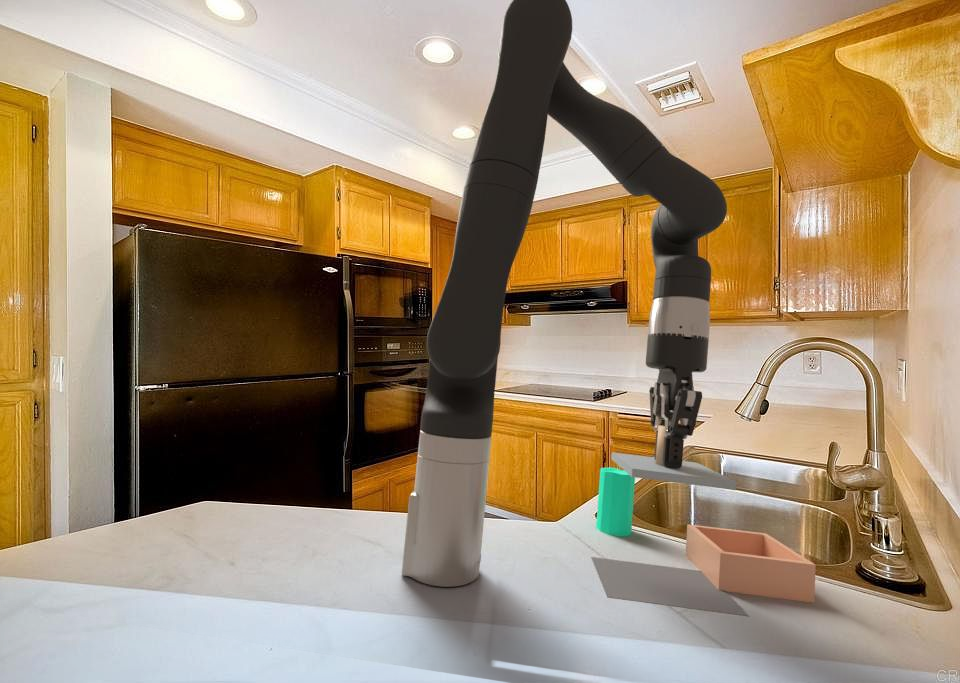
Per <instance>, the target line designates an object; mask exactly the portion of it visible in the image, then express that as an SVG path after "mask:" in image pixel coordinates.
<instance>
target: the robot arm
mask: <svg viewBox="0 0 960 683" xmlns="http://www.w3.org/2000/svg"><path fill="white" fill-rule="evenodd" d="M571 12H572V11H571V9H570V7H569V4H568V2H567V0H512V1H511V2H510V3H509V4H508V7H507V9H506V11H505V13H504V16H503V20H502V25H501V31H500V37H499V44H498V52H497V53H498V55H497V58H498V67H497V74H496V79H495V82H494V87H493V91H492V93H491V96H490V100H489V103H488V105H487V108H486V111H485V113H484V116H483V120H482V121H481V125H480V128H479V131H478V135H477V138H476V142H475V145H474V149H473V152H472V154H471V155H472V156H471V158H470V162H469V165H468V170H467V173H466V177H465V182H464V186H463V190H462V195H461V202H460V206H459V212H458V217H457V224H456V230H455V237H454V245H453V255H452V258H451V259H452V260H451V264H450V267H449V272H448V274H447V278H446V281H445V284H444V287H443V290H442V293H441V296H440V299H439V302H438V304H437V307H436V309H435V312H434V315H433V317H432V320H431V323H430V326H429V328H428V331H427V336H426V351H427V355H428V358H429V362H428V363H429V366H428V374H427V385H426V392H425V396H424V397H425V398H424V401H423V402H424V403H423V406H422V410H421V417H420V426H419V428H420V430H419V438H418V448H417V458H416V459H417V460H416V466H415V468H416V470H415V479H414V488H413V489H414V490H413V491H412V492H411V493H410V495H409V497H408V507H407V508H408V509H407V514H406V515H407V517H406V518H407V519H406V527H405V534H404V535H405V538H404V547H403V554H402V555H403V556H402V557H403V558H402V566H401V576H405V577H410V578H411V579H414V580H415V581H418V582H420V583H422V584H426V585H429V586H435V587H446V588H449V587H459V586H464V585H467V584H470V583H472V582H474V581H475V580H476V579H478V578H479V575H480V566H481V561H482V547H483V546H482V545H483V544H482V543H483V537H484V536H483V534H484V525H485V524H484V523H485V513H486V512H485V510H486V500H487V491H488V481H489V480H488V477H489V466H490V458H491V447H492V446H491V444H492V434H493V424H494V409H495V408H494V407H495V406H494V405H495V391H496V382H497V381H496V380H497V373H498V372H497V368H498V359H499V354H500V350H501V339H502V338H501V336H502V324H503V323H502V322H503V316H504V307H505V300H506V295H507V294H506V292H507V288H508V282H509V278H510V273H511V271H512V268H513V263H514V261H515V260H516V256H517V254H518V251H519V250H520V246H521V244H522V241H523V238H524V235H525V231H526V228H527V226H528V222H529V219H530V216H531V211H532V209H533V208H532V207H533V203H534V199H535V195H536V190H537V185H538V181H539V176H540V169H541V165H542V164H541V163H542V158H543V152H544V145H545V139H546V134H547V133H546V131H547V125H548V116H549V117H551V119H552V120H554V121H555V122H557V123H558V124H559V125H560V126H561V127H562V128H564V129H565V130H566V131H568V133H569V134H571V135H572V136H573V137H574V138H576V139H577V140H578V141H579V143H581V144H582V145H583V146H584V147H585V148H587V149H588V151H589V152H590V153H592V155H594V157H595V158H596V159H597V160H598V161H599V162H600V163H601V165H603V167H604V168H605V169H606V170H607V171H608V172H609V173H610V174H611V176H612V177H614V178H615V180H616V181H617V182H618V183H619V184H620V185H621V186H622V187H623V188H624V190H626V192H628V193H629V194H630V195H631V196H634V197H643V196H646V195H647V196H650V197H651V198H653V199H654V200H655V201H657V202H658V203H659V204H660V205H658V207H657V208H656V210H655V211H654V215H653V217H652V221H651V227H650V239H651V240H650V242H651V248H652V256H653V263H654V267H655V274H654V283H653V295H652V305H651V309H650V312H649V313H650V314H649V319H648V331H647V332H648V333H647V342H646V354H645V366H646V367H647V368H648V369H649V368H650V369H656V370H658V377H657V379H656V382H655V383H654V386H650V388H649V389H648V390H649V391H648V393H649V410H650V426H651V427H653V430H654V433H655V443H654V456H653V457H654V459H655V460H656V450H657V438H658V426H659V425H661V426H665V431H664V433H665V436H666V437H664V449H663V461H662V463H663V465H664V466H666V467H670V468H681V466H682V461H683V456H684V445H685V444H684V443H685V441H684V440H686V439H687V438H688V436H690V437H691V436H693V434H694V431H695V426H696V422H697V419H698V415H699V411H700V408H701V403H702V400H703V392H702V391H700V390H695V388H694V382H693V381H694V380H693V379H694V378H693V373H704V372H705V371H706V370H707V367H708V353H709V341H710V326H711V314H710V313H711V311H710V299H711V298H710V297H711V287H712V267H711V264H710V262H709V260H707V259H706V258H705V257H702V256H699V255H700V254H699V247H698V244H699V239H700V238H703V237H705V236H707V235H709V234H710V233H712V232H714V231H715V230H717V229H718V228H719V227H720V226H721V225H722V224H723V222H724V221H725V220H726V217H727V213H728V212H727V211H728V205H727V201H726V197H725V195H724V193H723V190H721V188H720V187H719V186H718V184H717V183H716V182H715V181H713V180H712V179H711V178H710V177H709V176H707V175H706V174H705V173H703V172H701V171H700V170H698V169H697V168H695V167H694V166H692V165H691V164H689V163H687V162H686V161H685V160H682V159H681V158H679V157H678V156H675V155H673V154H672V153H671V152H670V151H669V150H668V149H667V148H666V146H664V145H663V143H662V142H661V141H660V140H659V139H658V138H657V137H656V136H655V134H654V133H653V132H652V131H651V130H650V129H649V128H648V126H646V124H644V123H643V122H642V121H641V120H640V119H639V118H638V117H637V116H636V115H634V114H632V113H631V112H629V111H628V110H626V109H624V108H622V107H620V106H618V105H615V104H613V103H610V102H608V101H606V100H604V99H602V98H600V97H597V96H596V95H594V94H592V93H591V92H589V91H588V90H587V89H585V87H583V86H582V85H581V84H580V83H579V82H578V81H577V80H576V79H575V77H574V76H573V75H572V73H571V71H570V70H569V69H568V68H567V65H566V64H565V63H564V60H565V58H566V55H567V52H568V50H569V46H570V43H571V41H572V35H573V18H572V13H571ZM679 422H680V424H679Z"/></svg>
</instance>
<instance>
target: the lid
mask: <svg viewBox="0 0 960 683" xmlns="http://www.w3.org/2000/svg"><path fill="white" fill-rule="evenodd" d="M664 431H665V426H661V425H659V426H658V433H657V434H658V438H657V450H656V460H655V459H654V456H645V455H639V454H638V455H636V454H630V453H629V454H628V453H620V452H614V451H612V452H611V455H610V456H611V459H610V460H612V461H613V462H614V463H615V465H617V466H618V465H619V466H618V467H620V468H621V469H622V471H625V472H627V473H628V474H629V475H630V476H631V477H635V479H636V478H637V479H645V480H654V481H659V482H668V483H676V484H683V485H692V486H699V487H708V488H715V489H716V488H717V489H722V490H723V489H724V490H730V491H737V483H738V482H737V481H736V480H734V479H732V478H730V477H728V476H725V475H724V474H722V473H719V472H717V471H716V470H713V469H711V468H709V467H706V466H705V465H702V464H700V463H698V462H694V461H687V460H682V466H681V468H670V467H666V466H664V465H663V463H662V461H663V449H664V437H666V436H665V433H664Z"/></svg>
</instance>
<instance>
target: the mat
mask: <svg viewBox="0 0 960 683" xmlns="http://www.w3.org/2000/svg"><path fill="white" fill-rule="evenodd" d="M591 559H592V562H593V565H594V568H595V570H596V573H597V575H598V577H599V580H600V583H601V584H602V587H603V590H604V593H605V594H606V597H607V598H610V599H616V600H625V601H632V602H639V603H640V602H641V603H646V604H652V605H653V604H654V605H660V606H661V605H662V606H668V607H676V608H684V609H693V610H697V611H699V610H700V611H707V612H715V613H721V614H728V615H737V616H744V617H750V615H749V614H748V613H747V612H746V610H744V609H743V608H742V607H741V606H740V605H739V604H738V602H736V600H734V598H733V597H732V596H730V594H729V592H728V591H723V590H718V589H717V588H716V587H715V586H714V585H713V584H712V582H711V581H710V580H709V579H708V578H707V577H706V576H705V575H704V574H703V573H702V572H701V571H700V570H699V569H697V570H696V569H688V568H680V567H673V566H665V565H658V564H650V563H642V562H633V561H625V560H617V559H610V558H609V559H608V558H604V557H603V558H602V557H596V556H595V557H594V556H591Z"/></svg>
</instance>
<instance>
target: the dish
mask: <svg viewBox="0 0 960 683" xmlns="http://www.w3.org/2000/svg"><path fill="white" fill-rule="evenodd" d="M685 540H686V542H685V556H686V557H687V559H688V560H689V561H691V562H692V564H693V565H694V566H695V567H696V568H697V570H698V571H701V572H702V573H703V574H704V575H705V576H706V577H707V578H708V579H709V580H710V581H711V582H712V584H713V585H714V586H715V587H716V588H717V589H718V590H723V591H726V592H727V593H729V592H730V593H736V594H746V595H752V596H760V597H766V598H775V599H782V600H791V601H799V602H805V603H813V604H814V603H815V592H816V571H817V570H816V568H817V567H816V566H817V565H816V564H815V563H814V562H812V561H811V560H809V559H808V558H806V557H804V556H803V555H801V554H799V553H797V552H796V551H795V550H793V549H791V548H790V547H788V546H787V545H785V544H783V543H782V542H781V541H778V540H777V539H776V538H774V537H772V536H771V535H769V534H768V533H765V532H758V531H757V532H755V531H748V530H740V529H739V530H738V529H730V528H723V527H714V526H705V525H696V524H687V525H686V539H685Z"/></svg>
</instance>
